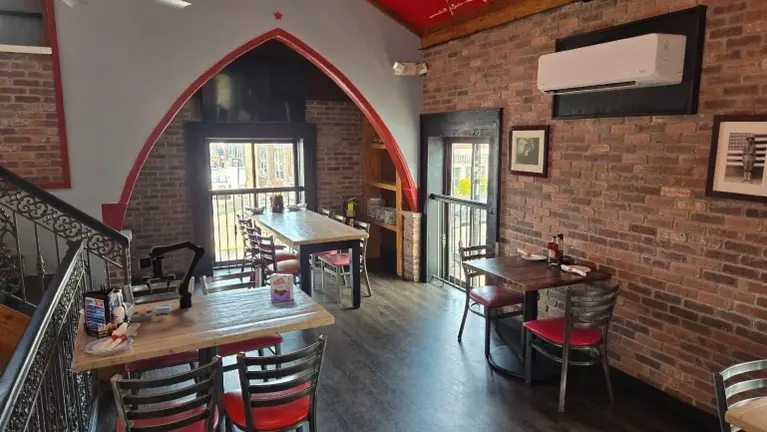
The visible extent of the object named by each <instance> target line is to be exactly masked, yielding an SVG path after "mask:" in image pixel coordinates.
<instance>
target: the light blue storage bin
mask: <svg viewBox="0 0 767 432" xmlns="http://www.w3.org/2000/svg"><path fill="white" fill-rule="evenodd" d="M170 311H172V304H171V303H170V304H159V305H157V307H156V315H162V314H161V313H167V314H171V312H170Z"/></svg>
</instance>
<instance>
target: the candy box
mask: <svg viewBox="0 0 767 432" xmlns="http://www.w3.org/2000/svg"><path fill="white" fill-rule="evenodd" d="M293 276H294V275H293V273H275V272H274V273H272V274H269V282H270V283H269V287H270V300H271V301H285V302H286V301H287V302H291V301H293V300H295V297H294V277H293Z"/></svg>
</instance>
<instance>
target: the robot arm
mask: <svg viewBox="0 0 767 432" xmlns="http://www.w3.org/2000/svg"><path fill="white" fill-rule="evenodd" d="M182 249H189V250H191V251H192V252H191V260H190V261H189V264H188V267H187V268H186V271H185V273H184V276H183V278H182V280H181V281H177V284H176V286H175V293H177V294H178V296H180V297H179V306H180V309H182V308H183V309H184V308H192V306H193V301H192V300H193V299H192V296H193V294H192V293H191V292H190V291H189V288H190V281H191V279H192V278H193V275H194V273H195V270H196V268H197V265H198V263H199V262H200V260H202V258H203V256H205V253H206V250H205V249H204V247H202V246H200V245H196V244H194V243H192V242H191V241H190V240H188V239H187V240H184V241H179V242H175V243H171V244H167V245H153V246H151V248H150V251H149V253H148V255H147V256H145V257H139V258H138V262H137V266H138V267H137V268H138V269H139V270H145V269H146V270H147V269H151V267H152V269H151V275H152V276H150V275H143V276H142V277H141V279H140V281H141V284H144V285H146V287H147V288H148V289H149V292H150V293H153V288H152V283H151V281H157V280H166V291H167V292H169V289H170V286H171V283H172V282H173V281H175V280H176V273H168V274H167V275H165V270H164V267H163V260H166V257H165V256H164V255H165V254H167V253H168V252H173V251H177V250H182Z"/></svg>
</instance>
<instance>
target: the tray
mask: <svg viewBox="0 0 767 432" xmlns="http://www.w3.org/2000/svg"><path fill="white" fill-rule="evenodd" d="M138 311H139V310H138ZM138 311H132V313H131V314H130V316H129V317H130V318H131V321H133V322H142V321H150V320H153V318H154V317H153V316H155V315H156V309H148V310H146V314H145V315H144V316H140V315H139V314H138ZM154 314H155V315H154Z"/></svg>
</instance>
